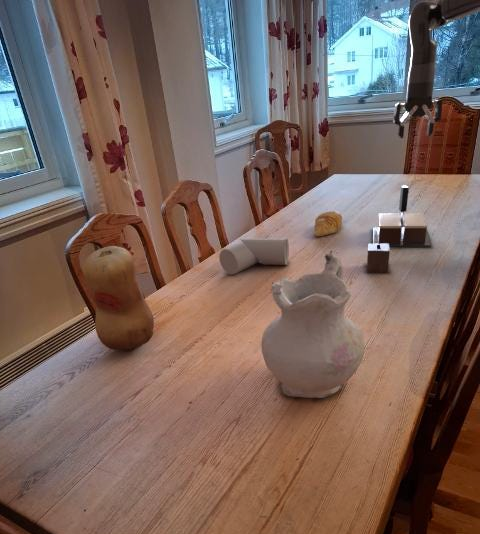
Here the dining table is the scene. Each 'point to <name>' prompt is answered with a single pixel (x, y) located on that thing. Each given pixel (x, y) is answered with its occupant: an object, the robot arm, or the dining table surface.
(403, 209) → the knife
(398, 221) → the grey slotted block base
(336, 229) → the croissant
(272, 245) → the bent grey cylinder
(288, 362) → the ceramic pitcher
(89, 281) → the butternut squash
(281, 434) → the dining table surface
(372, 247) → the knife block
